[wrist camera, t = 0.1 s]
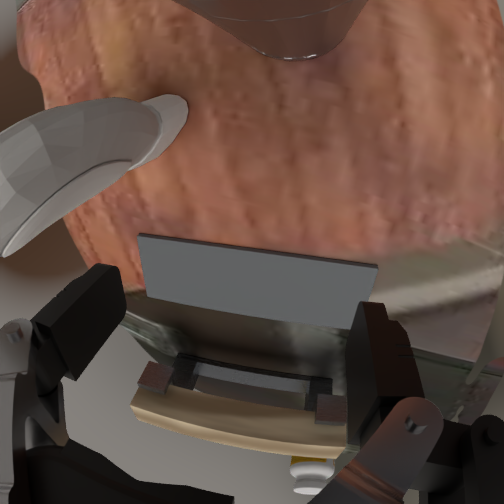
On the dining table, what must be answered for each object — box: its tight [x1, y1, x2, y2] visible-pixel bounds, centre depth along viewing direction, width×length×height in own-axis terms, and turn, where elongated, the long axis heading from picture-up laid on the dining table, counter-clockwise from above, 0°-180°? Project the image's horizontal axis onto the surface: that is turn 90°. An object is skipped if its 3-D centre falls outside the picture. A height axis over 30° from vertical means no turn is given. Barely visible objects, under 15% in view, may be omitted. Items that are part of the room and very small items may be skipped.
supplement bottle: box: [290, 455, 335, 494], centre depth 37 cm, size 7×7×13 cm
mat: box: [137, 234, 378, 329], centre depth 30 cm, size 8×24×1 cm, turn 87°
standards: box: [137, 353, 347, 426], centre depth 33 cm, size 10×21×10 cm, turn 88°
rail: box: [130, 385, 346, 459], centre depth 28 cm, size 4×22×4 cm, turn 88°
